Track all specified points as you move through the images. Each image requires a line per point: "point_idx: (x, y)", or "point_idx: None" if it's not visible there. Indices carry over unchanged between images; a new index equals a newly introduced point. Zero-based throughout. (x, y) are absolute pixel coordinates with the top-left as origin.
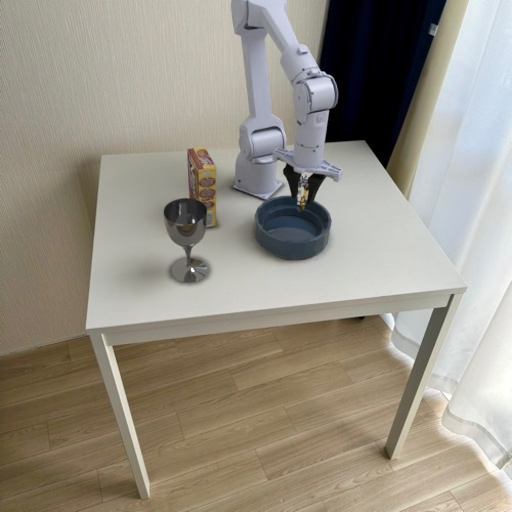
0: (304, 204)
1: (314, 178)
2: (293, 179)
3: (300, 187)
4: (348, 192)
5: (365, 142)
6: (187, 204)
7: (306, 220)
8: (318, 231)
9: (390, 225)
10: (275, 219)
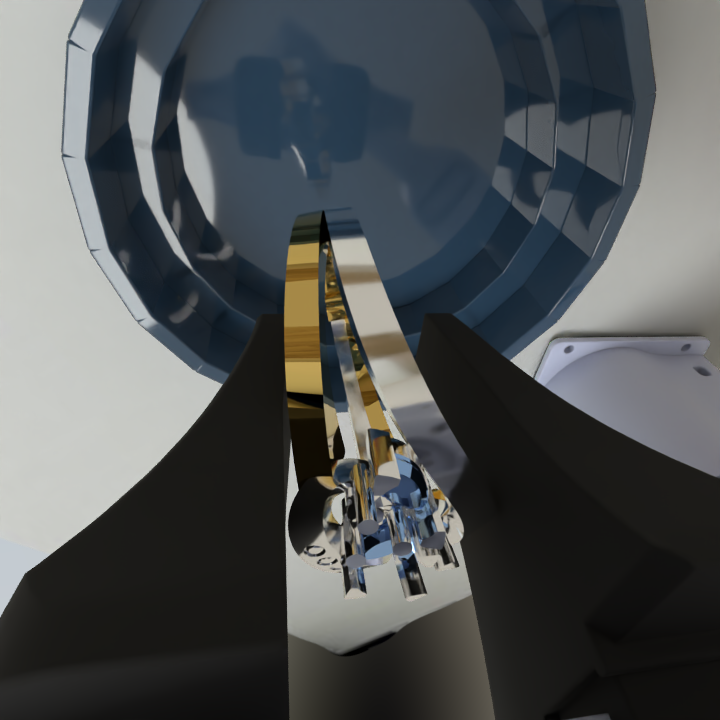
0: (335, 328)
1: (150, 706)
2: (554, 476)
3: (400, 407)
4: None
5: (332, 651)
6: None
7: None
8: (233, 264)
9: (4, 459)
10: (478, 235)
